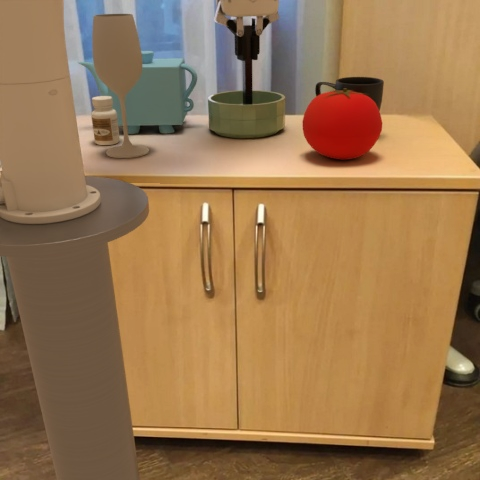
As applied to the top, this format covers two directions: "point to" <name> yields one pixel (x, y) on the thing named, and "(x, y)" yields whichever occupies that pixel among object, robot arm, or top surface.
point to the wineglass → (118, 67)
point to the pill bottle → (104, 121)
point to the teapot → (153, 94)
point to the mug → (358, 87)
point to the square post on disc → (247, 67)
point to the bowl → (246, 114)
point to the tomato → (342, 124)
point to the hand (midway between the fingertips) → (247, 58)
